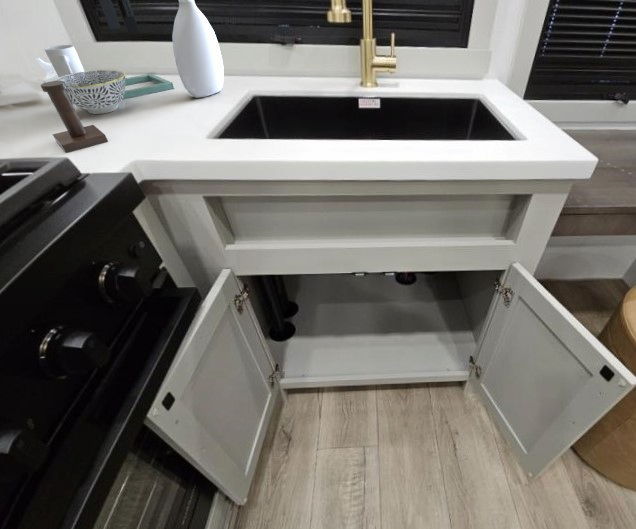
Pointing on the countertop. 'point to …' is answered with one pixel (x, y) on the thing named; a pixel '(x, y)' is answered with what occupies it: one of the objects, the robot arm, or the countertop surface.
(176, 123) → the countertop surface
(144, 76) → the frame
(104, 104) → the bowl
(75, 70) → the mug
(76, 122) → the peg stand
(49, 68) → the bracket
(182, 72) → the soap bottle
